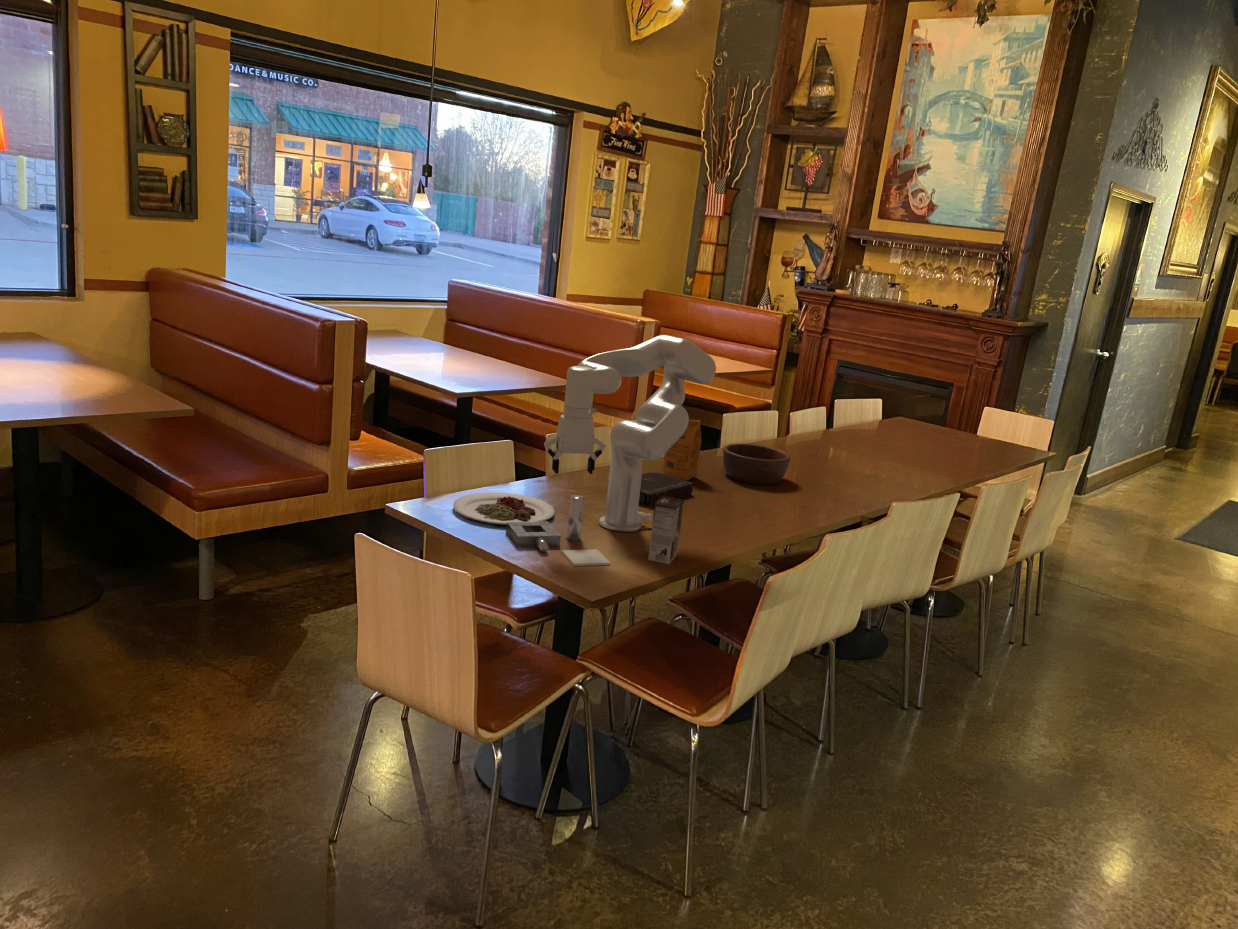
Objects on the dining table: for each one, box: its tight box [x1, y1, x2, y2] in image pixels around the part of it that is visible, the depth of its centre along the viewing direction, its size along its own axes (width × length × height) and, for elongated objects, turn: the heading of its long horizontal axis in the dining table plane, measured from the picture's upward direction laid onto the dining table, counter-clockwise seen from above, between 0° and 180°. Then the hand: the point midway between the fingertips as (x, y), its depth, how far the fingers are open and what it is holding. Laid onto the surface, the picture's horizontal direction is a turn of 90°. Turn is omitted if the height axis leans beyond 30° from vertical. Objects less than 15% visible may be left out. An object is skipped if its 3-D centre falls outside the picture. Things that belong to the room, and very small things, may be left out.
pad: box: [561, 548, 611, 567], centre depth 249 cm, size 10×10×1 cm
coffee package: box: [661, 419, 702, 481], centre depth 341 cm, size 10×12×22 cm
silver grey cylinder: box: [566, 494, 586, 541], centre depth 263 cm, size 4×4×12 cm
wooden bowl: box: [722, 443, 791, 486], centre depth 352 cm, size 25×25×10 cm
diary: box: [608, 471, 694, 508], centre depth 316 cm, size 19×25×5 cm
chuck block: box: [505, 520, 562, 553], centre depth 257 cm, size 12×17×3 cm
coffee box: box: [647, 496, 685, 565], centre depth 255 cm, size 9×6×16 cm
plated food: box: [452, 491, 555, 526], centre depth 280 cm, size 30×30×3 cm
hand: (572, 472), depth 260 cm, fingers open, 9 cm apart
